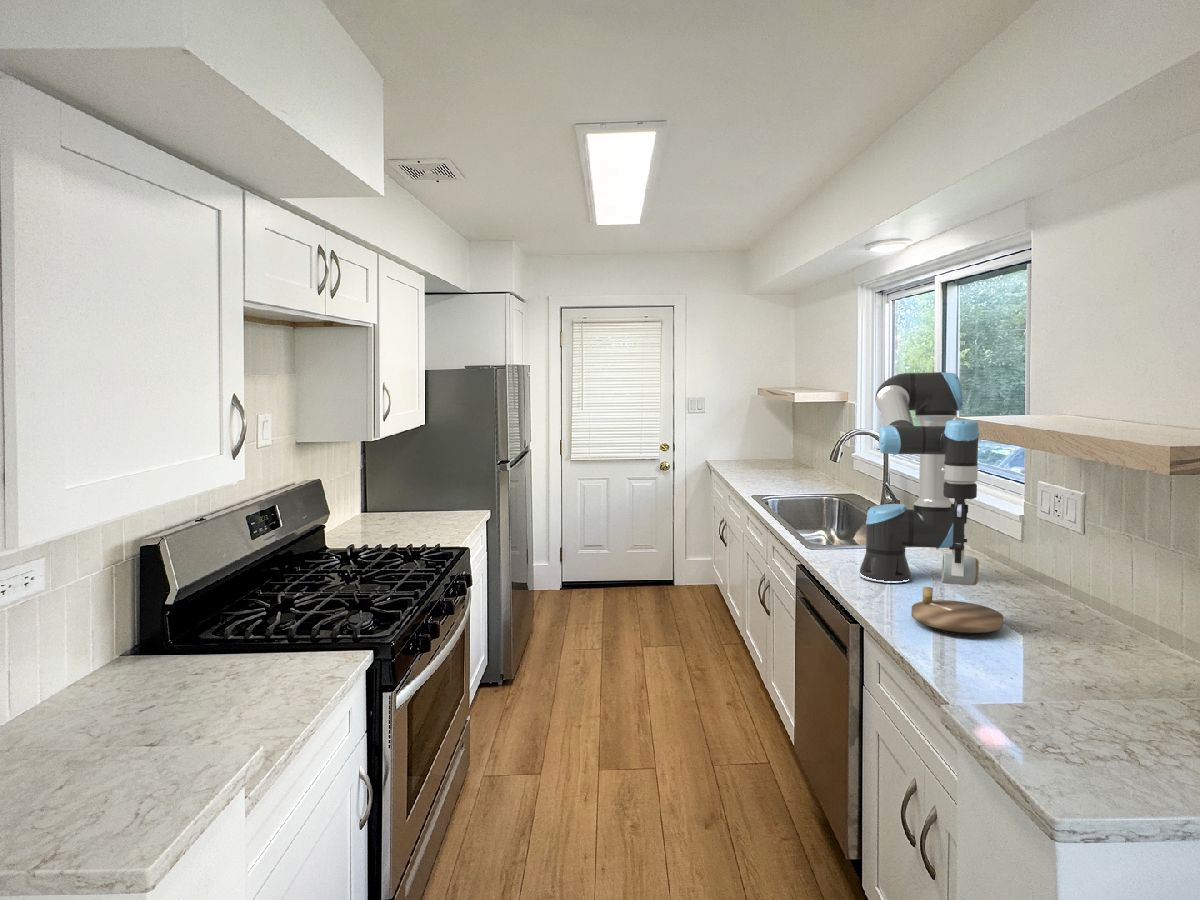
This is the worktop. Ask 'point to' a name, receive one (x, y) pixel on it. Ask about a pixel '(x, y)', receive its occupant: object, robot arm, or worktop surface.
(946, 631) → the turntable base
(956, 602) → the disc
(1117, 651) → the worktop surface
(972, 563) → the ceramic mug
